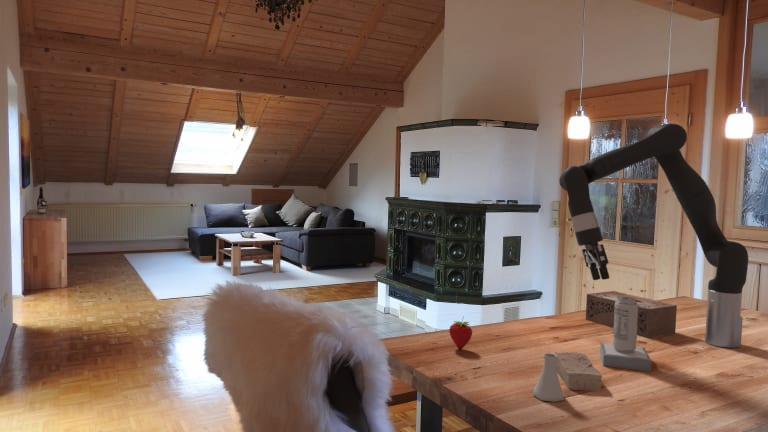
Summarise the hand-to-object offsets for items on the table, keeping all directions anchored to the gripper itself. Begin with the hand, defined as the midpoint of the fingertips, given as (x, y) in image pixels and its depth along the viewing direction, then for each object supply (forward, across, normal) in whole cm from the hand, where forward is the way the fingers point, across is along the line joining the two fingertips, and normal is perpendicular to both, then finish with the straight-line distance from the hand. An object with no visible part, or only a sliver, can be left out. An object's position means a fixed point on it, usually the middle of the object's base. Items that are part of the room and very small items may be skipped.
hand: (601, 279), depth 166 cm
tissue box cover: (+20, +30, -14) cm, 39 cm away
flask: (+22, -37, +31) cm, 53 cm away
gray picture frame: (+23, -10, +3) cm, 25 cm away
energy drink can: (+20, -10, +2) cm, 23 cm away
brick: (+22, -24, +21) cm, 39 cm away
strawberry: (+11, -5, +48) cm, 49 cm away
